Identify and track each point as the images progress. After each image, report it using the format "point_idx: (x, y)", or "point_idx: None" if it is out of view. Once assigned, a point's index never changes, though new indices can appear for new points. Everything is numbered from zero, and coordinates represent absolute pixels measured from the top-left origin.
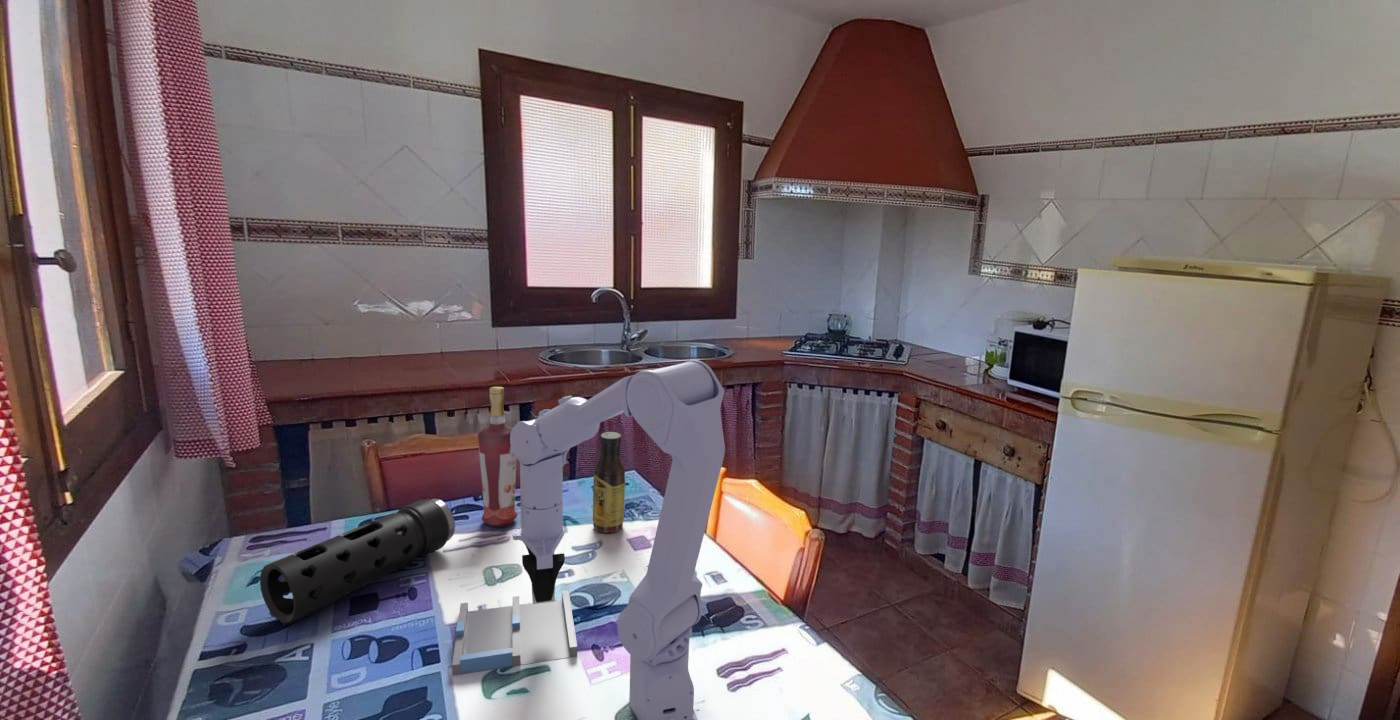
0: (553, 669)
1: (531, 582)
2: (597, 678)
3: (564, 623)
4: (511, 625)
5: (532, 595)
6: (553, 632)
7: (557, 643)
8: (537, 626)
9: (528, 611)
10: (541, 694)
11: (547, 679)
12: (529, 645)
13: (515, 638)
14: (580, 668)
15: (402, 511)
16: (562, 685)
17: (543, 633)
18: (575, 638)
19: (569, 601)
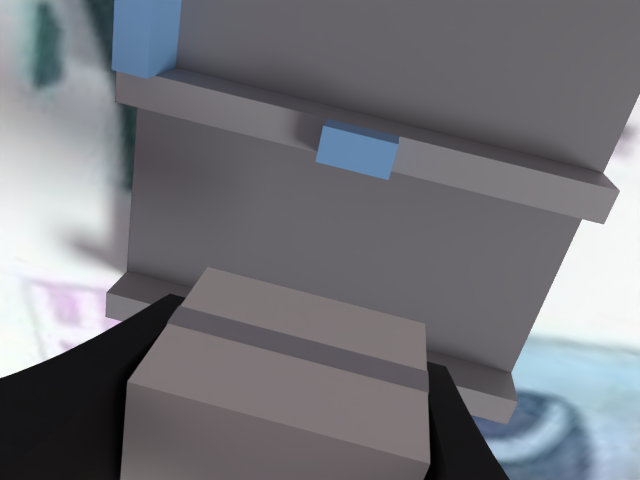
0: (127, 200)
1: (52, 358)
2: (46, 305)
3: None
4: (434, 125)
5: (212, 296)
6: (297, 269)
7: (220, 260)
8: (366, 227)
9: (504, 226)
10: (12, 123)
11: (81, 165)
12: (248, 159)
13: (242, 111)
14: (106, 279)
15: None
16: (40, 201)
17: (306, 234)
18: None
19: None
